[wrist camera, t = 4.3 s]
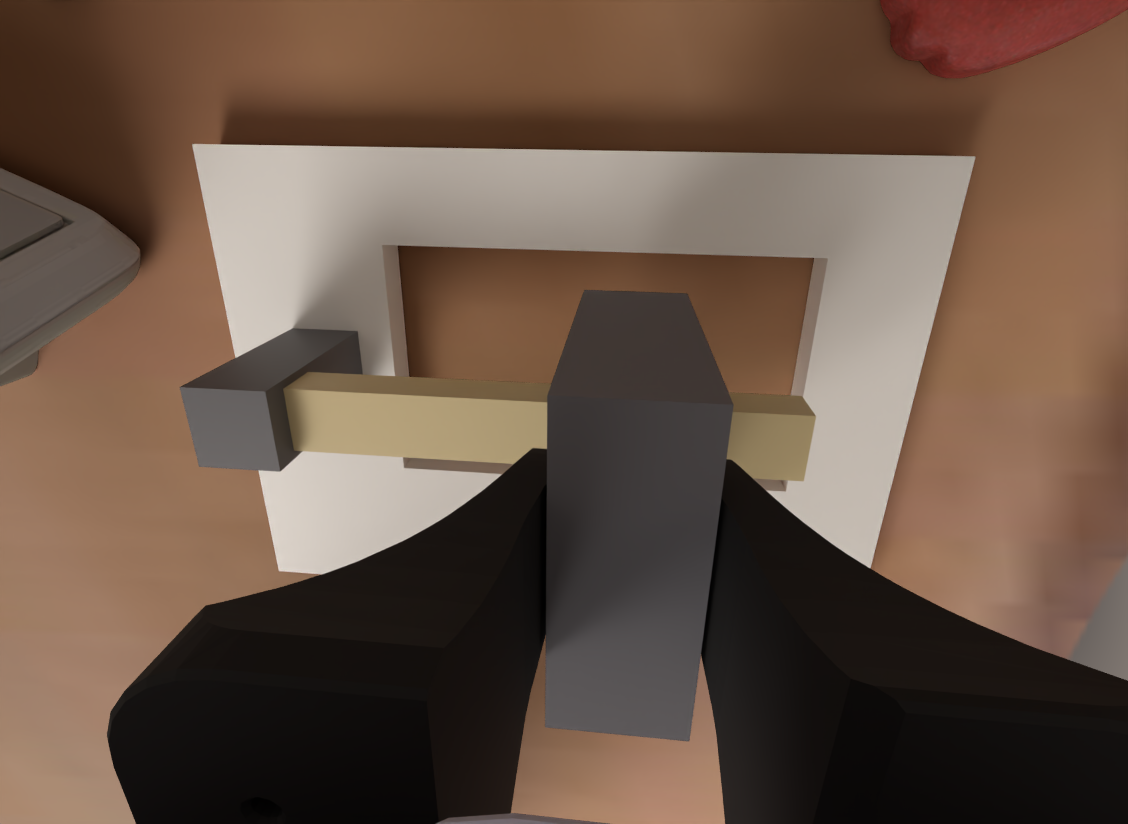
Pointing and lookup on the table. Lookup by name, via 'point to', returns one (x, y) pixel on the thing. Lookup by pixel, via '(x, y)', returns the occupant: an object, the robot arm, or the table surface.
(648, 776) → the table surface
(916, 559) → the table surface
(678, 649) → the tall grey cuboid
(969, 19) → the stacking bear
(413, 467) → the white slotted board
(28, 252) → the digital clock
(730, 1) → the table surface
